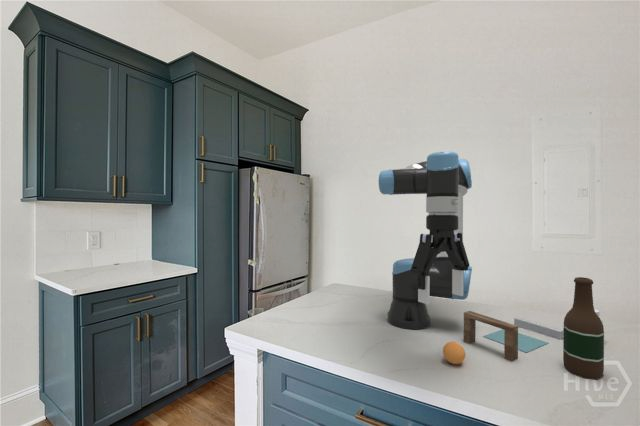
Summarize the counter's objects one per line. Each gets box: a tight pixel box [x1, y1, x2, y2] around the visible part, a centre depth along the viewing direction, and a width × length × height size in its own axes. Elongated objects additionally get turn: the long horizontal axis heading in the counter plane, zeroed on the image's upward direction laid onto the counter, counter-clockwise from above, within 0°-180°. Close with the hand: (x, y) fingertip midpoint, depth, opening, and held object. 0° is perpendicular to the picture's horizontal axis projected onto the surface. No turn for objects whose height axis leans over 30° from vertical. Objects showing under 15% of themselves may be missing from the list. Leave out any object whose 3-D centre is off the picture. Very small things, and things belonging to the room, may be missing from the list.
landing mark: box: [482, 329, 549, 354], centre depth 96 cm, size 13×13×1 cm
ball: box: [442, 341, 466, 365], centre depth 81 cm, size 6×6×6 cm
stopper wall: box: [513, 317, 563, 340], centre depth 102 cm, size 14×2×2 cm, turn 29°
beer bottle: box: [562, 276, 605, 381], centre depth 77 cm, size 8×8×24 cm
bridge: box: [463, 310, 519, 362], centre depth 89 cm, size 3×14×9 cm, turn 30°
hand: (441, 298), depth 75 cm, fingers open, 13 cm apart
